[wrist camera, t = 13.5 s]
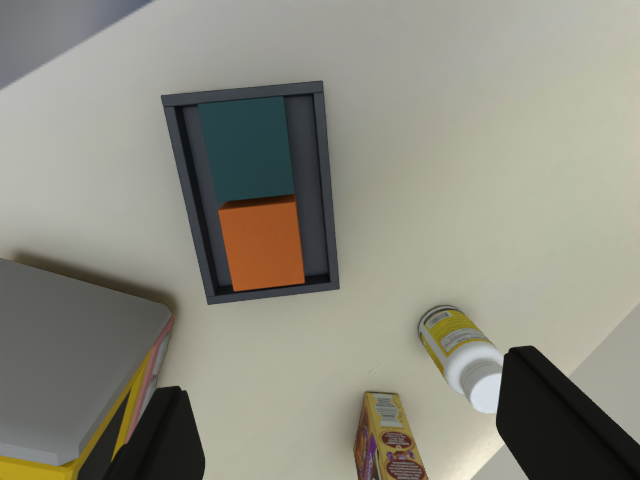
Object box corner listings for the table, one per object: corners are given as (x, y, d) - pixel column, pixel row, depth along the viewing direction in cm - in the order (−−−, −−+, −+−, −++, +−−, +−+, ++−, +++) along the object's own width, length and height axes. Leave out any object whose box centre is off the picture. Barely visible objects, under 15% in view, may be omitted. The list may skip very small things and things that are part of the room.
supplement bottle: (454, 351, 37) (508, 425, 28) (410, 342, 36) (450, 415, 27) (474, 309, 36) (537, 373, 26) (428, 299, 35) (476, 361, 26)
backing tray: (172, 98, 27) (160, 95, 25) (320, 84, 28) (322, 80, 25) (214, 291, 33) (207, 305, 30) (336, 277, 33) (339, 289, 31)
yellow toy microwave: (143, 441, 38) (15, 709, 20) (-11, 409, 35) (-315, 688, 17) (188, 294, 33) (68, 485, 15) (11, 242, 30) (-392, 403, 12)
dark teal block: (210, 107, 27) (197, 104, 23) (284, 100, 27) (283, 95, 23) (226, 193, 29) (216, 202, 25) (294, 186, 29) (294, 194, 26)
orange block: (227, 200, 29) (217, 210, 26) (295, 192, 30) (295, 201, 26) (240, 272, 32) (233, 291, 28) (303, 265, 32) (304, 283, 28)
